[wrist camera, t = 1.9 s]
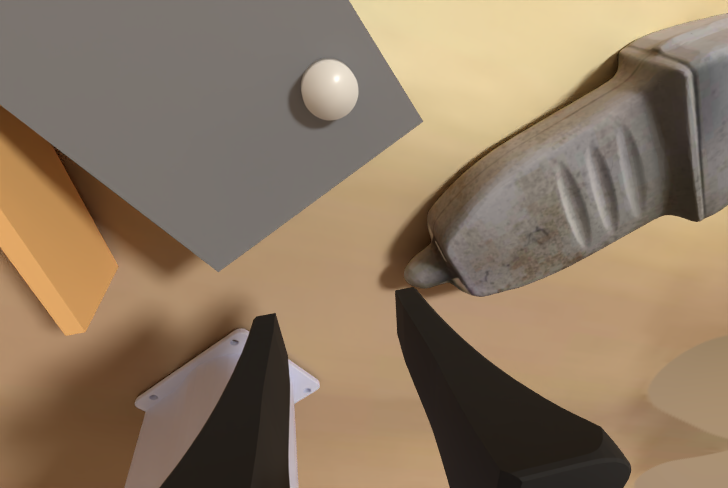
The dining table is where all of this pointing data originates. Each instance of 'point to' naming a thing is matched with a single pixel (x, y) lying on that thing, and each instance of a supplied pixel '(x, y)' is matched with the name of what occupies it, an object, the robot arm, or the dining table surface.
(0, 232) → the side door
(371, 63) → the grey box with knob
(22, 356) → the dining table surface
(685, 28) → the handheld device
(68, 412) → the dining table surface
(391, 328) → the dining table surface
